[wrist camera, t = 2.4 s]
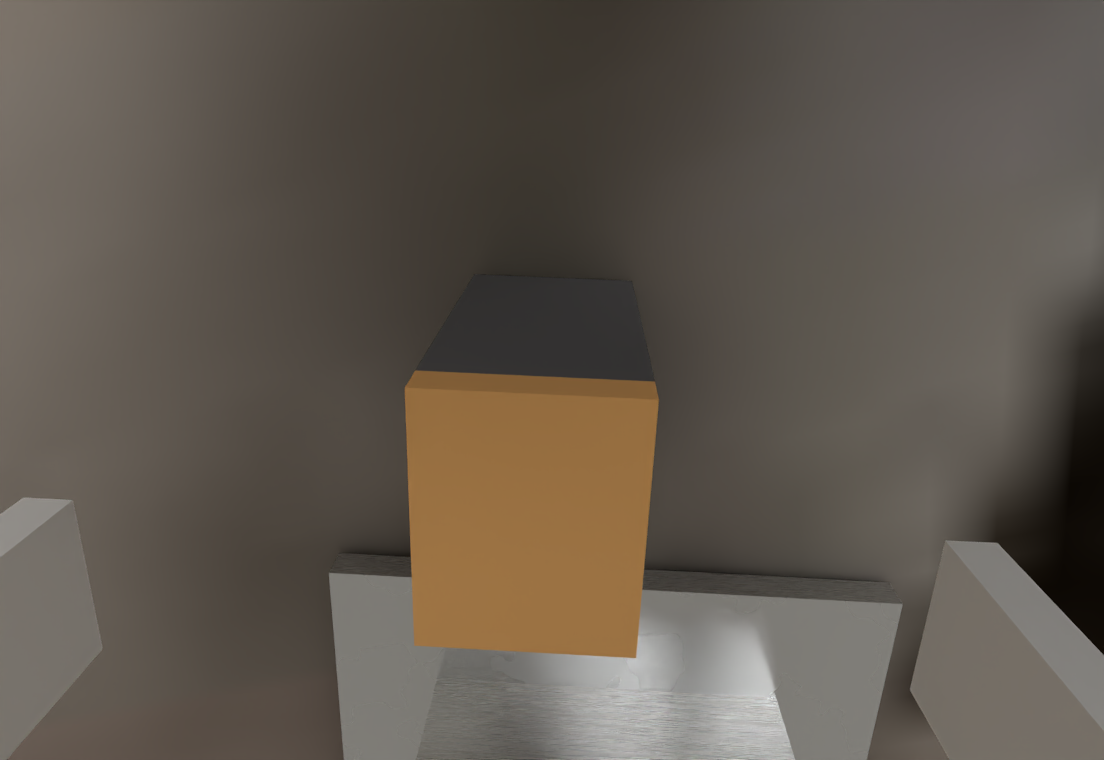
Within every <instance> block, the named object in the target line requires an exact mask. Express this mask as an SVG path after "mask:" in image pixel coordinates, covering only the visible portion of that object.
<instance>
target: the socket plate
mask: <svg viewBox="0 0 1104 760" xmlns="http://www.w3.org/2000/svg"><path fill="white" fill-rule="evenodd" d="M329 582H330V594H331V607H332V619H333V631H334V644H335V656H336V668H337V681H338V693H339V705H340V718H341V730H342V742H343V755H344V760H867V756H868V752H869V748H870V743H871V739H872V735H873V731H874V726H875V722H876V718H877V713H878V709H879V705H880V700H881V696H882V692H883V687H884V683H885V679H886V674H887V670H888V666H889V661H890V657H891V653H892V648H893V644H894V640H895V636H896V631H897V627H898V623H899V618H900V614H901V610H902V605H903V604H902V602H901V600H900V599H899V597H898V596H897V594H896V592H895V591H894V589H893V587H892V586H891V584H890V583H889V582H870V581H851V580H833V579H814V578H795V577H777V576H758V575H739V574H721V573H702V572H683V571H665V570H646V569H644V575H643V586H642V597H641V609H640V620H639V631H638V643H637V654H636V658H623V657H605V656H588V655H570V654H552V653H535V652H517V651H499V650H481V649H464V648H446V647H428V646H414V626H413V599H412V572H411V557H404V556H385V555H366V554H348V553H339V555H338V557H337V559H336V560H335V562H334V564H333V566H332V568H331V570H330V572H329Z"/></svg>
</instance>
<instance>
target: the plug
mask: <svg viewBox="0 0 1104 760" xmlns="http://www.w3.org/2000/svg"><path fill="white" fill-rule="evenodd" d="M658 405H659V398H658V393H657V389H656V385H655V380H654V376H653V372H652V367H651V363H650V358H649V354H648V350H647V345H646V341H645V337H644V332H643V328H642V323H641V319H640V315H639V310H638V306H637V302H636V297H635V293H634V289H633V284H632V281H621V280H597V279H574V278H550V277H526V276H503V275H479V274H474V276H473V277H472V279H471V281H470V282H469V284H468V285H467V287H466V289H465V290H464V292H463V294H462V295H461V297H460V298H459V300H458V302H457V303H456V305H455V307H454V308H453V310H452V312H451V313H450V315H449V316H448V318H447V320H446V321H445V323H444V325H443V326H442V328H441V329H440V331H439V333H438V334H437V336H436V338H435V339H434V341H433V342H432V344H431V346H430V347H429V349H428V351H427V352H426V354H425V356H424V357H423V359H422V360H421V362H420V364H419V365H418V367H417V369H416V370H415V372H414V373H413V375H412V377H411V378H410V380H409V382H408V383H407V385H406V386H405V409H406V436H407V463H408V491H409V518H410V545H411V572H412V599H413V626H414V646H428V647H446V648H464V649H481V650H499V651H517V652H535V653H552V654H570V655H588V656H605V657H623V658H636V654H637V643H638V631H639V620H640V609H641V597H642V586H643V575H644V563H645V552H646V541H647V529H648V518H649V507H650V495H651V484H652V473H653V461H654V450H655V439H656V427H657V416H658Z"/></svg>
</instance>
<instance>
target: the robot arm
mask: <svg viewBox="0 0 1104 760" xmlns="http://www.w3.org/2000/svg"><path fill="white" fill-rule="evenodd" d="M102 649H103V647H102V642H101V637H100V632H99V627H98V622H97V617H96V612H95V607H94V602H93V597H92V592H91V587H90V582H89V577H88V572H87V567H86V562H85V557H84V552H83V547H82V542H81V537H80V532H79V527H78V522H77V517H76V512H75V507H74V502H73V500H63V499H42V498H22V499H21V500H19V501H18V502H17V503H15V504H14V505H12V506H11V507H10V508H8V509H7V510H5V511H4V512H3V513H1V514H0V760H7V759H8V758H9V757H10V755H11V754H12V753H13V752H14V751H15V750H16V748H17V747H18V746H19V745H20V744H21V743H22V742H23V740H24V739H25V738H26V737H27V736H28V735H29V733H30V732H31V731H32V730H33V729H34V728H35V727H36V725H37V724H38V723H39V722H40V721H41V720H42V719H43V717H44V716H45V715H46V714H47V713H48V712H49V710H50V709H51V708H52V707H53V706H54V705H55V704H56V702H57V701H58V700H59V699H60V698H61V697H62V696H63V694H64V693H65V692H66V691H67V690H68V689H69V687H70V686H71V685H72V684H73V683H74V682H75V681H76V679H77V678H78V677H79V676H80V675H81V674H82V672H83V671H84V670H85V669H86V668H87V667H88V666H89V664H90V663H91V662H92V661H93V660H94V659H95V658H96V656H97V655H98V654H99V653H100V652H101V651H102ZM910 691H911V693H912V695H913V696H914V698H915V700H916V702H917V703H918V705H919V707H920V709H921V711H922V712H923V714H924V716H925V718H926V720H927V721H928V723H929V725H930V727H931V728H932V730H933V732H934V734H935V736H936V737H937V739H938V741H939V743H940V744H941V746H942V748H943V750H944V752H945V753H946V755H947V757H948V759H949V760H1104V655H1103V654H1102V653H1101V652H1100V651H1099V650H1098V649H1097V648H1096V647H1095V646H1094V645H1093V644H1092V643H1091V641H1090V640H1089V639H1088V638H1087V637H1086V636H1085V635H1084V634H1083V633H1082V632H1081V631H1080V630H1079V629H1078V628H1077V627H1076V626H1075V625H1074V623H1073V622H1072V621H1071V620H1070V619H1069V618H1068V617H1067V616H1066V615H1065V614H1064V613H1063V612H1062V611H1061V610H1060V609H1059V608H1058V607H1057V606H1056V604H1055V603H1054V602H1053V601H1052V600H1051V599H1050V598H1049V597H1048V596H1047V595H1046V594H1045V593H1044V592H1043V591H1042V590H1041V589H1040V588H1039V586H1038V585H1037V584H1036V583H1035V582H1034V581H1033V580H1032V579H1031V578H1030V577H1029V576H1028V575H1027V574H1026V573H1025V572H1024V571H1023V570H1022V568H1021V567H1020V566H1019V565H1018V564H1017V563H1016V562H1015V561H1014V560H1013V559H1012V558H1011V557H1010V556H1009V555H1008V554H1007V553H1006V552H1005V550H1004V549H1003V548H1002V547H1001V546H1000V545H999V544H998V543H988V542H966V541H945V544H944V548H943V552H942V556H941V560H940V565H939V569H938V573H937V577H936V582H935V586H934V590H933V594H932V598H931V603H930V607H929V611H928V615H927V619H926V624H925V628H924V632H923V636H922V640H921V645H920V649H919V653H918V657H917V661H916V666H915V670H914V674H913V678H912V682H911V687H910Z"/></svg>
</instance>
